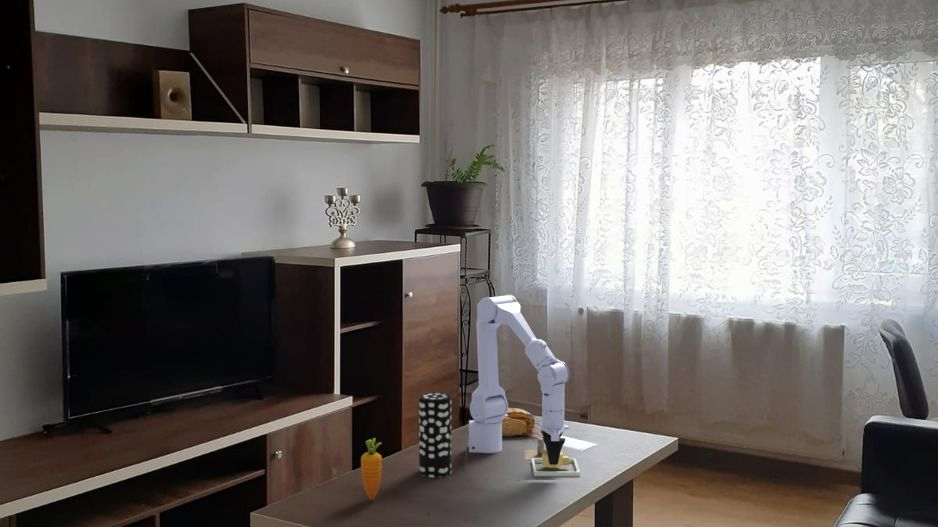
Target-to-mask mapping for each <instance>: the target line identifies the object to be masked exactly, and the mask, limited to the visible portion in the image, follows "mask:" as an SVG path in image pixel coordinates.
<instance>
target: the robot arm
mask: <svg viewBox="0 0 938 527" xmlns="http://www.w3.org/2000/svg"><path fill="white" fill-rule="evenodd" d="M521 307H522V306H521V304H520V303H519V302H518V300H517V298H516V297H515V296H514V295H512V294H504V295H499V296H492V297H490V296H485V297H483V298H482V299H481V300H480V301H479V302H478V303H477V304H476V314H477V315H476V316H477V318H476V323H475V324H476V325H475V326H476V346H477V368H478V372H477V373H478V386H477V387H476V389H475V390H474V391H472V393H471V402H470V404H469V412H470V416H471V418H472V420H471V419H469V420H468V440H467V448H468V453H483V454H496V453H499V452H501V451H502V450H503V436H502V420H503V419H504V415H506V413H507V411H508V408H509V402H508V399H507V397H506V391H505V389H504V388H502V387H501V386H500V383H499V364H498V363H499V362H498V360H499V359H498V358H499V357H498V336H497V330H498V328H499V327H500V326H501V325H502V324H503V325H506V326H507V325H508V326H509V328H510V329H511V330H512V331H513V332H514V334H515V335H516V336H517V337H518V338H519V340H520V341H521V342H522V344H523V345H524V346H525V348H524V353H525V355H526V356H527V358H528V359H529V360H530V362H531V364H532V365H533V367H534V368H535V369H536V371H537V372H538V373H537V380H538V382H539V384H540V385H539V386H540V391H541V393H542V396H541V397H542V398H541V401H542V402H541V424H540V425H541V426H540V432H541V433H542V434H541V433H540V434H541V436H542V437H543V441H544V446H545V450H547V453H548V460H549V464H550V465H557V464H558V461H559V457H560V452H562V448H563V447H564V446H563V444H564V443H565V438H560V437H561V436H563V435H562V434H563V433H564V431H565V430H567V431H568V430H569V426H570V425H567V424H565V394H566V393H565V388H566V387H565V385H566V383H567V382H568V381H569V378H570V369H569V367H568V366H567V363H565V362H564V361H562V360H559V358H556V356H555V355H554V353H553V352H552V351H551V349H550V348H549V347H548V344H547V342H546V341H544V340H543V339H541V338H539V339H538V338H536V335H535V334H534V332H533V331H532V329H531V327H530V326H529V324H528V322H527V320H526V319H525V317H524V316H523V315H522V312H521V309H522V308H521Z"/></svg>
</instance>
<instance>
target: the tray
mask: <svg viewBox="0 0 938 527" xmlns="http://www.w3.org/2000/svg"><path fill="white" fill-rule="evenodd" d="M537 463H539V464H542V458H532V460H531V467H532V470H533V471H532V472H533V477H581V471H580V468H579V465H578V462H577V459H576V458H574V457H571V458H570V457H569V464H573V466H574V469H575V471H569V470H568V471H567V470H566V471H563V470H562V471H560V470H559V471H557V470H556V471H553V470H552V471H551V470H550V471H547V470H543V471H542V470H538V471H537V467H536V464H537Z"/></svg>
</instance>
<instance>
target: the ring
mask: <svg viewBox="0 0 938 527" xmlns="http://www.w3.org/2000/svg"><path fill="white" fill-rule="evenodd" d="M545 450H546V449H545ZM569 458H570V457H569V455H568V456H567V455H564V453H563V451H561V452H560V457H559V461H558V464H557V465H550V464H549V460H548V453H547V450H546V451H542V463H541V464H542V466H543V467H545V468H546V467H547V468H555V469H556V468H560V467H563V466H570V463H569Z"/></svg>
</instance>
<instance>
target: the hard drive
mask: <svg viewBox="0 0 938 527" xmlns="http://www.w3.org/2000/svg"><path fill="white" fill-rule="evenodd" d="M560 438H565V443H564V444H563V446H562V447H564V448H568V449H572V450H577V451H581V452H584V451H586V450H588V449H591V448H594V447H596V446H599V445H600V444H598V443H593V442H589V441H586V440H582V439H581V440H580V439H577V438H572V437H568V436H566V435H561V437H560Z"/></svg>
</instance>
